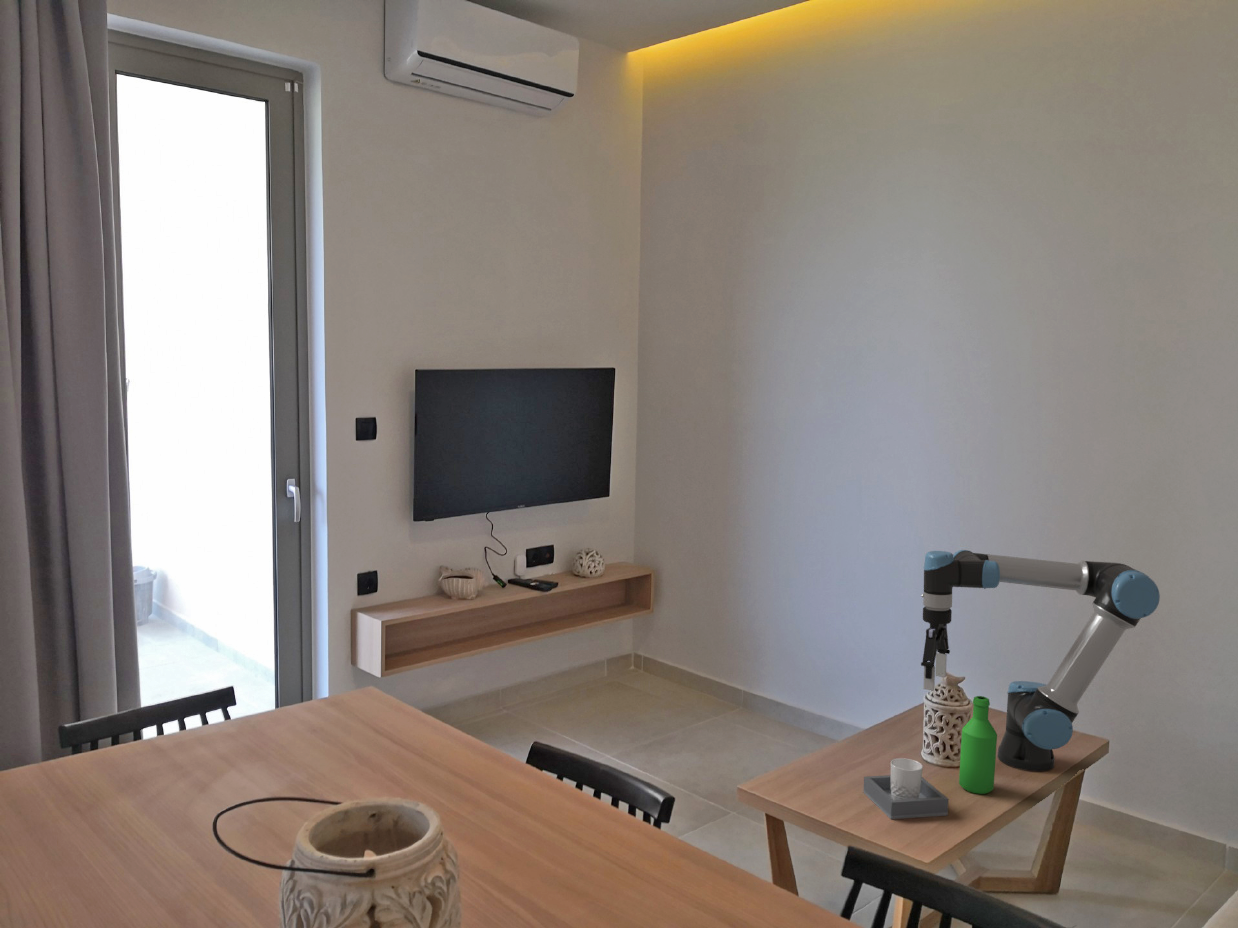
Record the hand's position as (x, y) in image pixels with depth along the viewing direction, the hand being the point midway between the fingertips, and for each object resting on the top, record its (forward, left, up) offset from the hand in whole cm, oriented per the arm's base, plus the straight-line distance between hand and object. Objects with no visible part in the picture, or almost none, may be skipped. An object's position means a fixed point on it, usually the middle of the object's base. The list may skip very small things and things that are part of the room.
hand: (934, 682), depth 262 cm
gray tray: (+17, +18, -25) cm, 36 cm away
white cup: (+18, +19, -25) cm, 36 cm away
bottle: (-7, +12, -26) cm, 29 cm away
